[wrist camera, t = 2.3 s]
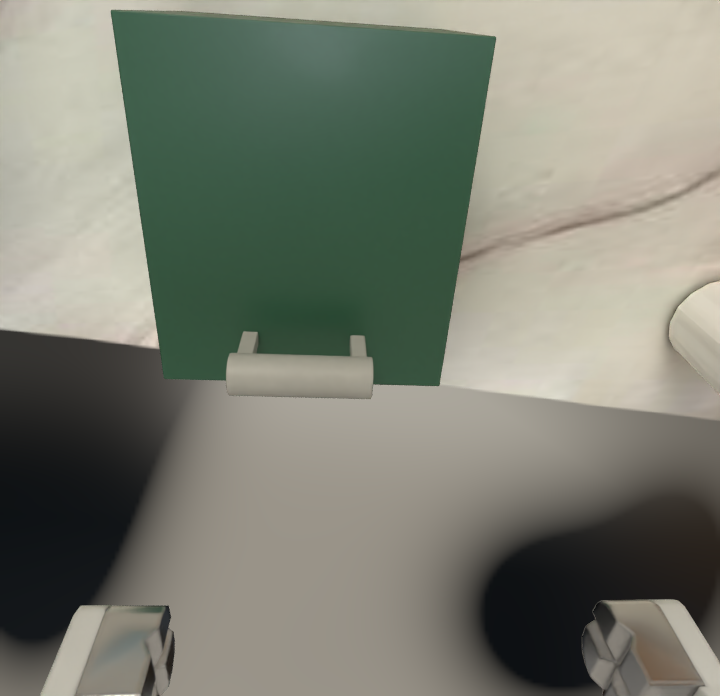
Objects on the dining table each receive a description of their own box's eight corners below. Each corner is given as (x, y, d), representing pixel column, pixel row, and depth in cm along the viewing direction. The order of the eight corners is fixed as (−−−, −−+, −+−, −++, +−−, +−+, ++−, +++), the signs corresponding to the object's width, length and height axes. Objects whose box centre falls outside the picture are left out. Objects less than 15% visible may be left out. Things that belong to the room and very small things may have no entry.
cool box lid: (436, 377, 29) (454, 438, 24) (168, 370, 28) (139, 432, 24) (491, 35, 21) (530, 41, 17) (117, 10, 20) (61, 8, 16)
